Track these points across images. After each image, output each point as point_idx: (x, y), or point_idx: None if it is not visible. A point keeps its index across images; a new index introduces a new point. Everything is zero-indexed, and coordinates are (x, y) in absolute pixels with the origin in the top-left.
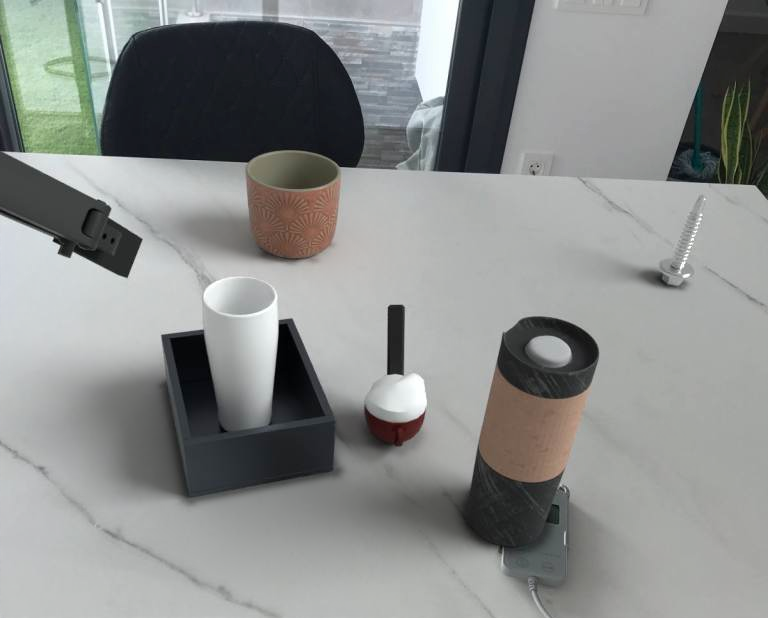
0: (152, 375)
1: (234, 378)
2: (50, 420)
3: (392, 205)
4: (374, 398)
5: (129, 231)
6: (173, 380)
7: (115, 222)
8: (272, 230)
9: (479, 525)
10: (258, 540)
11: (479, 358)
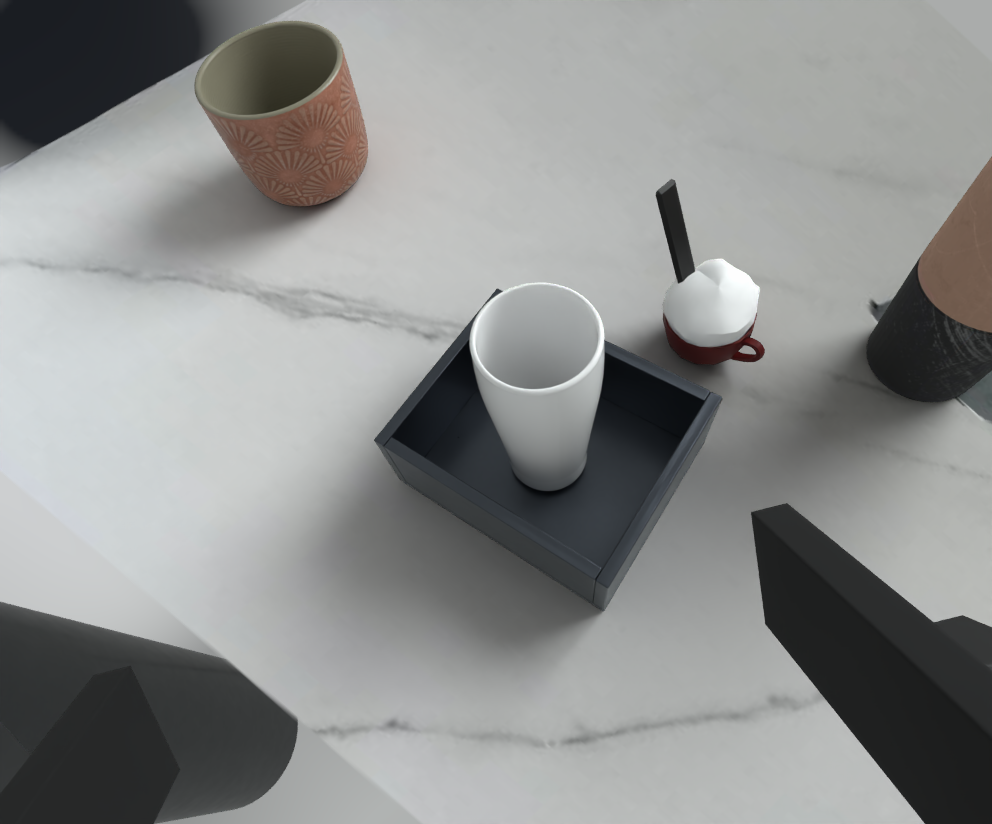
0: (367, 480)
1: (573, 443)
2: (321, 646)
3: (365, 44)
4: (702, 326)
5: (829, 540)
6: (475, 498)
7: (887, 587)
8: (303, 174)
9: (929, 393)
10: (736, 602)
11: (676, 180)
